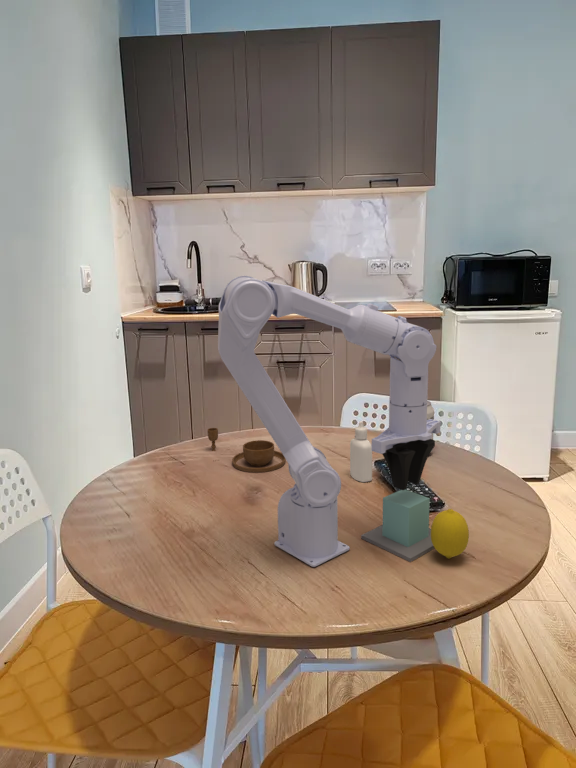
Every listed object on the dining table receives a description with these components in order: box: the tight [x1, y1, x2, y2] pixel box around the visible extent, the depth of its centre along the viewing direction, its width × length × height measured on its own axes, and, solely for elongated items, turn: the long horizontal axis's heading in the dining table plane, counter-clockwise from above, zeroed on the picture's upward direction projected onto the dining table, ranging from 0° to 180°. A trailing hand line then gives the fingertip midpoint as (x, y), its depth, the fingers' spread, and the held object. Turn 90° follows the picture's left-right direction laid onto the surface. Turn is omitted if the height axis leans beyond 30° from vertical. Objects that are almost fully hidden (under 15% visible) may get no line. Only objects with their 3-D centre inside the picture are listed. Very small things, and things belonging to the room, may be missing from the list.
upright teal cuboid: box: [382, 488, 431, 547], centre depth 93 cm, size 5×5×7 cm
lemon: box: [430, 508, 470, 559], centre depth 87 cm, size 6×6×8 cm
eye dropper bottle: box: [349, 421, 373, 483], centre depth 118 cm, size 4×6×12 cm
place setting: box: [207, 427, 287, 474], centre depth 132 cm, size 18×20×6 cm
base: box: [360, 524, 435, 563], centre depth 94 cm, size 10×10×1 cm
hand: (406, 485), depth 92 cm, fingers open, 3 cm apart
